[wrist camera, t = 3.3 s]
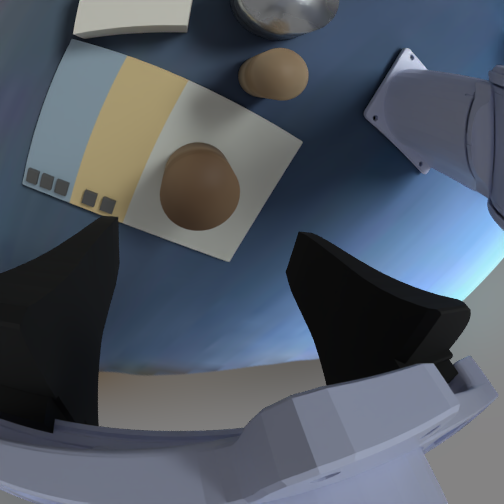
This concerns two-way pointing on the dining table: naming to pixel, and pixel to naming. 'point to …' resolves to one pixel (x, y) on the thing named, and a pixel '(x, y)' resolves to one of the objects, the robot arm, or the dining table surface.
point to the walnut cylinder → (199, 187)
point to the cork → (274, 74)
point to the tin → (283, 16)
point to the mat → (147, 144)
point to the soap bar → (130, 17)
